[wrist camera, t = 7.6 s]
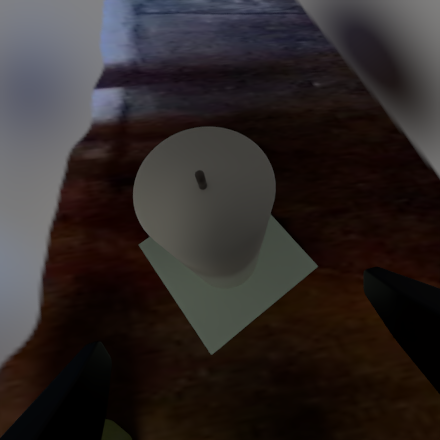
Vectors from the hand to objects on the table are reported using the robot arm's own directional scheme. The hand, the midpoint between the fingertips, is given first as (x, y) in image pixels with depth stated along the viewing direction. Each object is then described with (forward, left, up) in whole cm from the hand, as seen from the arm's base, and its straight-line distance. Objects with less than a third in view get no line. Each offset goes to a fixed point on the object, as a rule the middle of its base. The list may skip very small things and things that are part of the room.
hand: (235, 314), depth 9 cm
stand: (+4, -2, -13) cm, 14 cm away
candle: (+4, -2, -11) cm, 12 cm away
